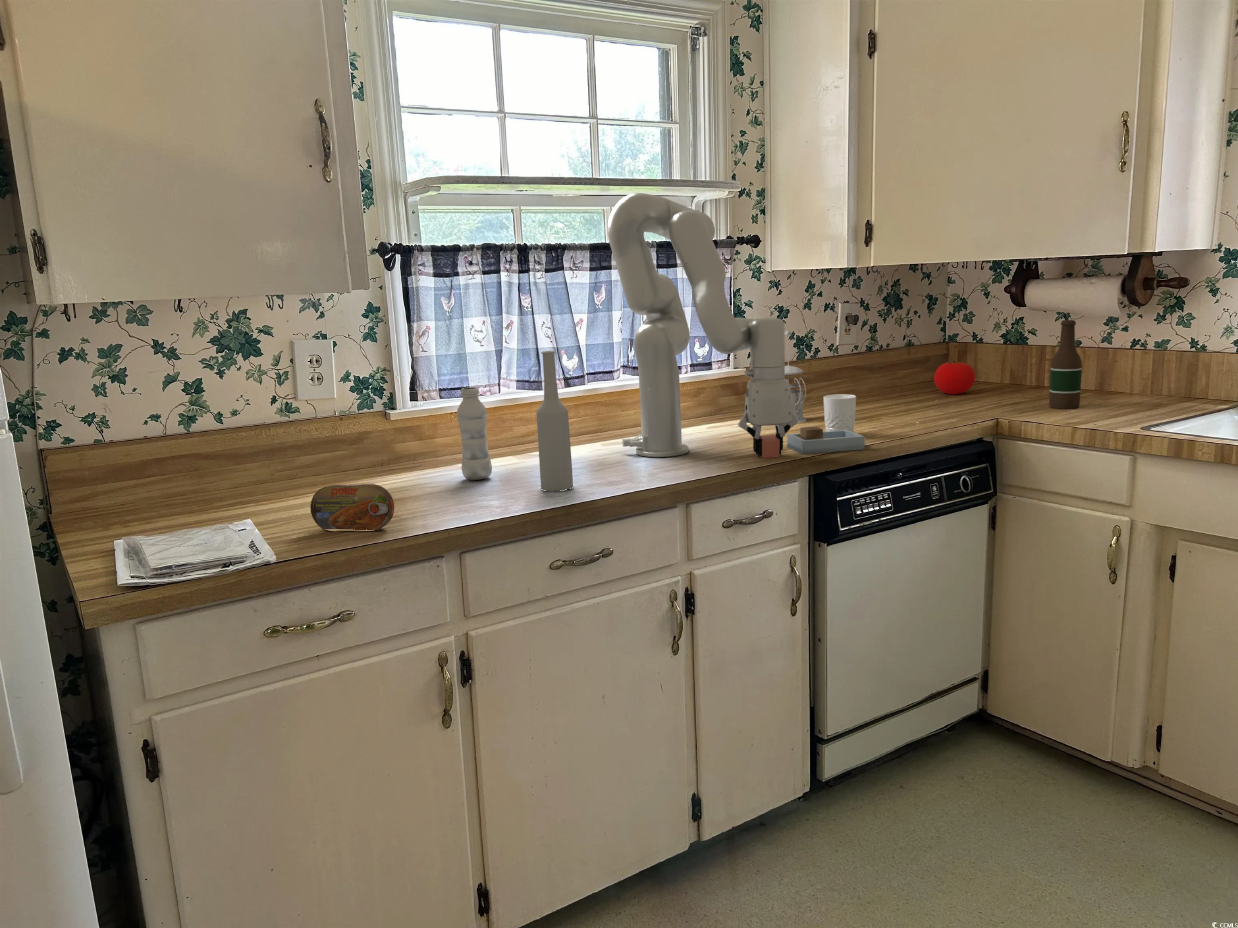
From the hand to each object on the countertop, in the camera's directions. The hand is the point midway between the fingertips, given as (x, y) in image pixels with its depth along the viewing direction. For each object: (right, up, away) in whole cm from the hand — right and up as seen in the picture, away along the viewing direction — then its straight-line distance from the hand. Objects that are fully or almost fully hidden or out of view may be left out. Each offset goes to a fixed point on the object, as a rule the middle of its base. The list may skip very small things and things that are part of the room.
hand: (768, 453), depth 207 cm
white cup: (+21, +4, +20) cm, 29 cm away
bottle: (-47, -8, -21) cm, 52 cm away
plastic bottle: (-65, -6, -9) cm, 66 cm away
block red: (0, 0, 0) cm, 0 cm away
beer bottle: (+90, +13, +45) cm, 101 cm away
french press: (+14, +9, +46) cm, 49 cm away
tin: (-81, -14, -45) cm, 94 cm away
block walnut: (+11, +2, +5) cm, 12 cm away
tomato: (+73, +20, +81) cm, 111 cm away
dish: (+14, +1, +6) cm, 16 cm away
